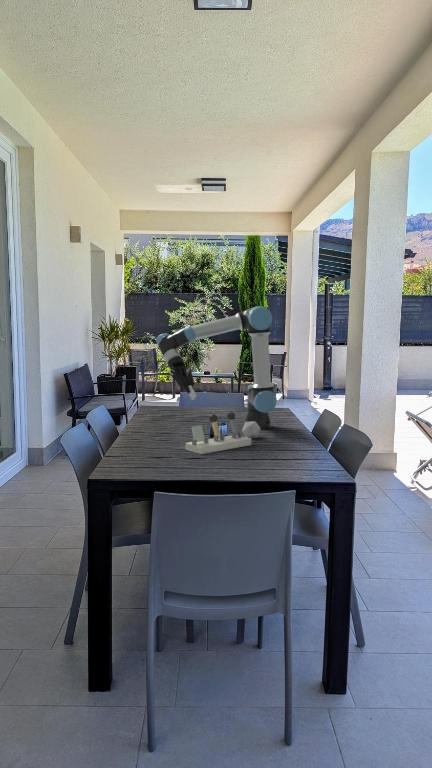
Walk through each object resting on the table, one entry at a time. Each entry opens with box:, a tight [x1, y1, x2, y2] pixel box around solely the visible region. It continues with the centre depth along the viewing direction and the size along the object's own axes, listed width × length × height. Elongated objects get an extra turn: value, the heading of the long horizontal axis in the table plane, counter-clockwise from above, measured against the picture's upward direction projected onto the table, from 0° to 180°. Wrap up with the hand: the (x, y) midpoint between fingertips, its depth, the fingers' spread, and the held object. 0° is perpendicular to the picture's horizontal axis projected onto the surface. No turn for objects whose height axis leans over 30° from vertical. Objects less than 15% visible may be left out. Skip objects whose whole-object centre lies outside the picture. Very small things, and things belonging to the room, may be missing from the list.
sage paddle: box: [190, 425, 205, 442], centre depth 244 cm, size 1×5×7 cm, turn 131°
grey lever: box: [226, 411, 239, 436], centre depth 259 cm, size 4×4×12 cm
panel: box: [184, 431, 252, 455], centre depth 250 cm, size 11×30×5 cm, turn 130°
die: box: [241, 422, 262, 439], centre depth 273 cm, size 8×9×10 cm
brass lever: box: [208, 413, 222, 439], centre depth 252 cm, size 4×4×12 cm
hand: (194, 397), depth 262 cm, fingers closed
